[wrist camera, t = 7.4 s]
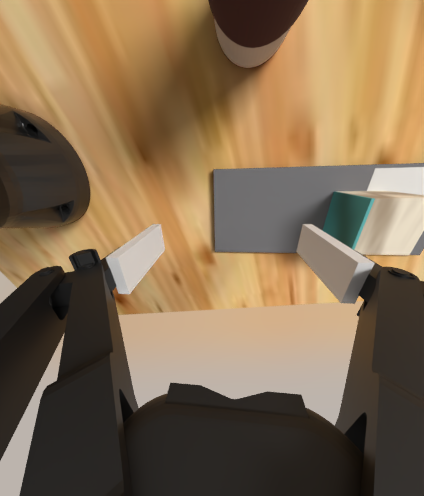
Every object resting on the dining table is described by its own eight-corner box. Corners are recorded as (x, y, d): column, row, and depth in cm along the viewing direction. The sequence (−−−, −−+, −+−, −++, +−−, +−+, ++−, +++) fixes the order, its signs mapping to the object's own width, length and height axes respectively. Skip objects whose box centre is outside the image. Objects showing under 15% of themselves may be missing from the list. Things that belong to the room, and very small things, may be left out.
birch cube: (349, 254, 18) (409, 255, 17) (371, 198, 15) (443, 197, 14) (321, 234, 23) (365, 235, 22) (333, 191, 20) (384, 190, 20)
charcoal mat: (215, 249, 26) (215, 251, 26) (214, 169, 21) (213, 169, 20) (413, 252, 24) (419, 255, 23) (468, 162, 18) (478, 161, 18)
